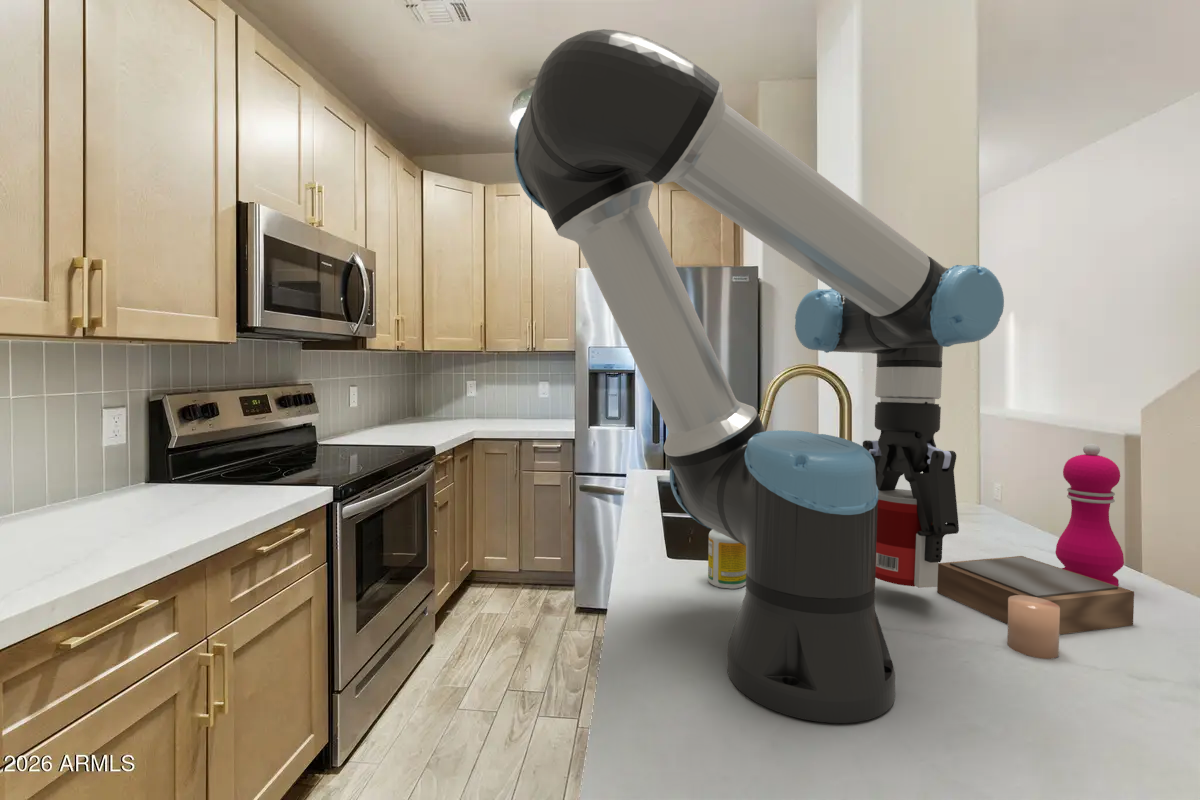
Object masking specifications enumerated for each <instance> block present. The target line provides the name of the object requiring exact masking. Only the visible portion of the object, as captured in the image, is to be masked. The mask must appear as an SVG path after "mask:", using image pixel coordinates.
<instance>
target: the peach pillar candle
mask: <svg viewBox="0 0 1200 800" xmlns="http://www.w3.org/2000/svg"><path fill="white" fill-rule="evenodd" d="M1059 625H1060V607H1059V606H1058V605H1057V604H1055V603H1053V602H1051V601H1048V600H1045V599H1042V598H1037V597H1032V596H1024V595H1014V596H1010V597H1009V598H1008V624H1007V638H1006V639H1007V641H1006V643H1007V644H1006V645H1007V646H1008V647H1009V648H1010V649H1011V650H1013V651H1015V652H1016V653H1018V654H1022V655H1024V656H1028V657H1031V658H1035V659H1041V660H1042V659H1043V660H1053V659H1057V658H1058V657H1060V656H1059V655H1060V653H1059V652H1060V635H1059Z"/></svg>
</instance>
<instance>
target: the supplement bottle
mask: <svg viewBox="0 0 1200 800" xmlns="http://www.w3.org/2000/svg"><path fill="white" fill-rule="evenodd" d="M707 547H708V548H707V549H708V552H707V553H708V559H707V560H708V561H707V564H708V566H707V575H708V579H707V580H708V582H709V583H710V584H711V585H712V586H714V587H717V588H719V589H720V588H722V589H728V590H729V589H731V590H732V589H741V588H743V587H744V586H746V546H745V545H743V544H741V543H739V542H738V541H736V540H734V539H732V538H730V537H728V536H726V535H724V534H722V533H720V532H718V531H716V530H713V529H710V531H709V533H708V546H707Z"/></svg>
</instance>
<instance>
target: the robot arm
mask: <svg viewBox="0 0 1200 800" xmlns="http://www.w3.org/2000/svg"><path fill="white" fill-rule="evenodd" d="M513 147H514V148H513V162H514V164H513V165H514V169H515V173H516V177H517V180H518V182H519V184H520V186H521V188H522V190H523V192H524V193H525V195H526V196H527V197H528V198H529V199H530V200H531V202H533V204H534V205H536V206H537V207H538V208H540V209H541V210H544V211H546V213H547V215H548V218H549V219H550V221H551V223H552V225H553V227H554V229H555V231H556V233H557V235H558V236H559V237H563V238H564V239H567V240H570V241H574V242H575V243H576V244H577V245H578V247H579V249H580V250H581V253H582V255H583V257H584V259H585V261H586V263H587V265H588V268H589V269H590V271H591V274H592V276H593V278H594V280H595V282H596V284H597V286H598V288H599V291H600V292H601V295H602V296H603V298H604V301H605V302H606V305H607V307H608V309H609V311H610V312H611V314H612V317H613V319H614V321H615V323H616V324H617V327H618V329H619V331H620V333H621V335H622V338H623V340H624V342H625V344H626V346H627V348H628V350H629V352H630V354H631V356H632V358H633V360H634V362H635V364H636V366H637V368H638V370H639V372H640V375H641V377H642V379H643V381H644V382H645V385H646V387H647V389H648V391H649V393H650V395H651V397H652V399H653V401H654V403H655V405H656V408H657V409H658V412H659V413H660V416H661V418H662V420H663V422H664V424H665V426H666V428H667V431H668V434H667V437H666V439H665V442H664V444H663V451H664V453H665V456H666V458H667V460H668V462H669V464H670V469H669V482H670V483H669V484H670V487H671V491H672V494H673V496H674V498H675V500H676V502H677V503H678V505H679V506H680V507H681V508H682V510H683V511H684V512H685V513H686V514H687V515H688V516H689V517H690V518H691V519H693V520H695V521H696V522H697V523H698V524H700V525H702V526H703V527H705V528H707V529H710V530H712V529H713V530H716V531H718V532H720V533H722V534H724V535H726V536H728V537H730V538H732V539H734V540H736V541H738V542H739V543H741V544H743V545H745V546H746V584H745V594H744V596H743V600H742V603H741V606H740V609H739V611H738V615H737V617H736V620H735V623H734V627H733V630H732V633H731V636H730V638H729V640H728V644H727V652H726V653H727V654H726V655H727V656H726V657H727V660H726V662H727V666H726V667H727V674H728V675H727V676H729V679H730V681H731V682H732V684H733V685H734V686H735V687H736V688H737V690H739V691H740V692H741V693H743V694H744V696H746V697H747V698H749V699H750V700H752V701H754V702H756V703H757V704H760V706H763V707H765V708H768V709H770V710H772V711H774V712H778V713H780V714H783V715H786V716H789V717H793V718H798V719H800V720H801V719H802V720H807V721H813V722H820V723H830V724H832V723H833V724H845V723H846V724H848V723H858V722H864V721H867V720H871V719H874V718H878V717H879V716H882V715H883V714H885V713H886V712H888V711H889V710H890V709H891V708H892V707H893V704H894V703H895V699H896V671H895V667H894V664H893V661H892V659H891V655H890V651H889V648H888V645H887V641H886V638H885V636H884V633H883V630H882V629H883V628H882V627H881V624H880V621H879V618H878V615H877V614H878V613H877V612H876V602H875V601H876V578H875V572H876V541H877V510H878V494H879V491H891V490H895V489H897V485H898V482H899V480H900V477H901V476H903V477H904V479H905V481H906V482H908V483H909V486H910V490H911V491H912V495H913V498H914V499H916V500H917V514H918V518H919V521H920V525H921V529H922V531H919V532H917V533H918V534H916V552H915V577H914V586H913V587H917V588H920V589H921V588H937V582H938V563H942V560H943V543H944V542H943V539H944V537H945V536H946V535H953V534H958V533H959V531H960V525H959V515H958V505H957V492H956V484H955V483H956V482H955V466H956V462H957V453H956V452H955V450H943V449H941V448H939V447H937V445H936V442H935V437H934V436H935V434H937V433H938V432H939V431H940V429H941V410H942V407H941V406H940V404H939V403H936V400H939V399H941V397H942V377H943V376H942V375H943V350H944V348H946V347H947V348H948V347H951V346H954V345H961V344H966V343H968V344H969V343H975V342H978V341H981V340H983V339H985V338H987V337H989V336H990V335H991V334H992V333H993V332H994V331H995V329H996V328H997V327H998V326H999V322H1000V321H1001V320H1000V319H1001V317H1002V315H1003V312H1004V307H1005V300H1004V299H1005V297H1004V291H1003V288H1002V285H1001V283H1000V281H999V280H998V278H997V276H996V275H995V274H994V272H992V271H991V270H990V269H989V268H987V267H984V266H980V265H977V264H969V265H961V264H960V265H959V264H956V265H955V264H954V265H952V266H951V267H949V268H947V267H945V266H943V265H941V264H940V263H939V262H937V260H935V259H934V258H933V257H930V256H929V255H928V254H927V253H926V252H924V251H923V250H922V249H921V248H919V247H917V246H916V245H915V244H914V243H912V242H911V241H909V240H908V239H907V238H905V237H904V236H903V235H902V234H900V233H899V232H897V231H896V230H895V229H894V228H892V227H891V226H890V225H888V224H887V223H885V221H883V220H881V218H879V217H878V216H876V215H875V214H873V213H872V212H871V211H869V210H868V209H867V208H865V207H864V206H863V205H862V204H860V203H859V202H858V201H856V200H855V199H854V198H853V197H851V196H850V195H848V194H847V193H846V192H844V191H843V190H841V189H840V188H839V187H838V186H836V185H835V183H832V182H831V181H830V180H828V179H827V178H826V177H824V176H823V175H822V174H821V173H819V172H818V171H817V170H815V169H814V168H812V167H811V166H810V165H808V163H806V162H804V161H803V160H802V159H800V158H799V157H797V156H796V155H795V154H794V153H793V152H791V151H790V150H788V149H787V148H785V146H783V145H781V144H780V143H779V142H778V141H776V140H775V139H773V137H771V136H770V135H769V134H767V133H766V132H764V131H763V130H762V129H761V128H759V127H757V126H756V125H755V124H754V123H752V122H751V121H750V120H749V119H747V118H746V117H744V116H743V115H741V114H740V113H739V112H738V111H736V110H735V109H734V108H733V107H731V106H729V105H728V103H726V101H725V96H724V89H723V83H721V82H720V81H719V80H718V79H716V78H715V77H714V76H712V75H711V74H710V73H708V71H706V70H704V69H703V68H701V67H699V66H698V65H697V64H695V63H694V62H692V61H691V60H689V59H688V58H687V57H685V56H683V55H682V54H680V53H678V52H676V51H674V50H673V49H671V48H670V47H668V46H665V45H664V44H662V43H659V42H657V41H655V40H653V39H650V38H648V37H644V36H642V35H638V34H635V33H631V32H628V31H622V30H617V29H595V30H587V31H584V32H581V33H577V34H576V35H574V36H571V37H569V38H567V39H566V40H563V41H562V42H561V43H560V44H558V46H557V47H555V48H554V49H553V50H552V51H551V52H550V53H549V55H548V56H547V58H546V59H545V60H544V61H543V63H542V66H541V67H540V70H539V71H538V74H537V76H536V78H535V82H534V86H533V90H532V92H531V95H530V98H529V101H528V103H527V105H526V109H525V111H524V113H523V115H522V117H521V118H520V120H519V123H518V125H517V129H516V133H515V136H514V146H513ZM672 182H673V183H676V185H678V186H680V187H681V188H683V189H684V190H686V191H687V192H689V194H691V195H693V196H694V197H696V198H698V199H699V200H700V201H702V202H703V203H705V204H706V205H708V206H709V207H711V208H712V209H714V210H715V211H717V212H718V213H720V214H721V215H723V216H724V217H726V218H727V219H729V221H732V222H733V223H734V224H735V225H737V226H739V227H740V228H742V229H744V230H745V231H746V232H748V233H749V234H751V235H752V236H754V237H755V238H757V239H758V240H760V241H761V242H762V243H764V244H766V245H767V246H768V247H770V248H772V249H773V250H774V251H775V252H778V253H779V254H781V255H782V256H783V257H785V258H787V260H789V261H791V262H792V263H794V264H795V265H796V266H798V267H800V268H801V269H803V270H804V271H806V272H807V273H808V274H810V275H812V276H813V277H814V278H816V279H818V280H819V281H820V282H822V283H824V284H825V285H826V286H827V287H829V289H823V288H822V289H821V288H820V289H813V290H811V291H809V292H808V293H806V294H805V295H804V296H803V297H802V299H801V300H800V302H799V304H798V305H797V308H796V311H795V312H796V313H795V314H794V315H795V316H794V319H795V325H794V331H795V334H796V337H797V339H798V341H799V343H800V344H801V345H802V346H803V348H806V349H808V350H811V351H821V352H824V353H827V354H828V353H831V352H832V353H837V352H841V353H857V354H858V353H861V354H862V353H864V354H876V377H875V392H874V393H875V394H874V395H875V396H874V397H876V398H880V402H879V401H877V402H876V404H875V406H874V408H875V409H874V427H875V429H877V430H879V431H880V435H879V437H878V440H867V439H865V440H863V442H862V445H861V444H859V443H857V442H854V441H853V440H849V439H846V438H843V437H840V436H839V437H838V436H834V435H831V434H824V433H813V432H812V431H811V432H809V431H805V430H804V431H802V430H788V429H787V430H786V429H785V430H783V429H781V430H767V431H766V429H765V426H764V424H763V422H762V420H761V418H760V415H759V414H758V411H757V409H756V408H755V407H754V406H752V405H750V404H747V403H744V402H741V401H739V400H737V398H736V396H735V394H734V392H733V389H732V387H731V385H730V383H729V381H728V379H727V376H726V374H725V372H724V370H723V368H722V366H721V363H720V361H719V358H718V357H717V355H716V354H717V353H715V350H714V348H713V346H712V343H711V341H710V339H709V337H708V335H707V333H706V330H705V328H704V326H703V324H702V321H701V319H700V317H699V314H698V313H697V311H696V308H695V306H694V304H693V302H692V300H691V298H690V295H689V293H688V291H687V289H686V286H685V284H684V283H683V280H682V278H681V276H680V273H679V272H678V270H677V267H676V265H675V262H674V260H673V258H672V256H671V254H670V252H669V249H668V247H667V245H666V242H665V241H664V238H663V237H662V235H661V232H660V230H659V228H658V226H657V224H656V221H655V219H654V217H653V215H652V212H651V210H650V208H649V202H650V198H651V196H652V195H651V194H652V191H653V189H654V185H657V186H659V185H663V184H668V183H672ZM878 490H879V491H878ZM931 522H933V525H931Z"/></svg>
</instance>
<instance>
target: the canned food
mask: <svg viewBox="0 0 1200 800" xmlns="http://www.w3.org/2000/svg"><path fill="white" fill-rule="evenodd" d="M878 491H879V490H878ZM931 525H933V522H931ZM919 531H922V529H921V525H920V521H919V518H918V514H917V500H916V499H914V498H913V495H912V491H911V489H901V488H900V489H898V488H895V490H891V491H879V494H878V510H877V541H876V572H875V579H876V580H877V579H878V580H879V581H882V582H886V583H890V584H893V585H897V586H898V585H899V586H906V587H915V586H914V577H915V552H916V534H918V533H917V532H919Z"/></svg>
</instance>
